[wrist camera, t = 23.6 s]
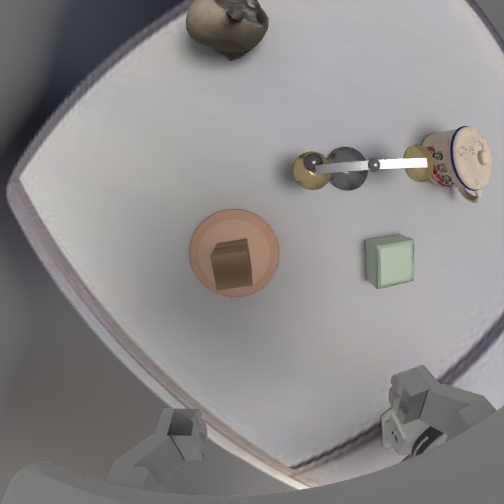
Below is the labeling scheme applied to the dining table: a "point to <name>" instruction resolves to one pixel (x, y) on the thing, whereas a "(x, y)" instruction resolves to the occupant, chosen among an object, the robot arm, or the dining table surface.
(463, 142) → the teacup with lid
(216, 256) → the block
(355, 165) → the balance
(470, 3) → the dining table surface
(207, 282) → the saucer
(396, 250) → the cover
